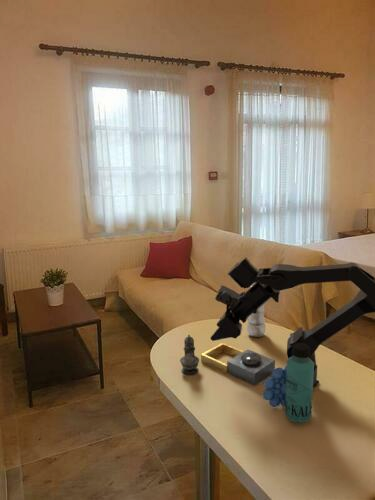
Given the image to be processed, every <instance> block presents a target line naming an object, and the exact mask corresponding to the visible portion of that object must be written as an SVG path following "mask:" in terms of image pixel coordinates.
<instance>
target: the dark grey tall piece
mask: <svg viewBox="0 0 375 500" xmlns="http://www.w3.org/2000/svg"><path fill="white" fill-rule="evenodd" d="M194 339H195V338H193V337H192V336H191V335H190V334H188V335H187V336H186V337H184V341H183V342H184V347H183V351H184V356H182V357H181V358H180V359H179V361H180V363H181V367H182V368H181V373H182V374H183V375H185V376H195V375H197V374H199V372H200V371H199V368H198V366H199V363H200V358H199V357H198V356H197V355H195V350H196V347H195V340H194Z"/></svg>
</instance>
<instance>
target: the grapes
mask: <svg viewBox="0 0 375 500" xmlns="http://www.w3.org/2000/svg"><path fill="white" fill-rule="evenodd" d="M286 375H287V364H286V365H285V366H284V369H283V368H282V367H275V370H274V371H273V373H272V375H271V376H269V377H267V378H266V379H265V380H263V387H264V388H265V389H264V391H263V393H262V398H263V399H264V400H265V401H268V403H269V406H270V407H271V408H277V407H279V406H280V405H281V407H283V408H284V406H285V397H286V384H285V383H286V381H285V380H286Z"/></svg>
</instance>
